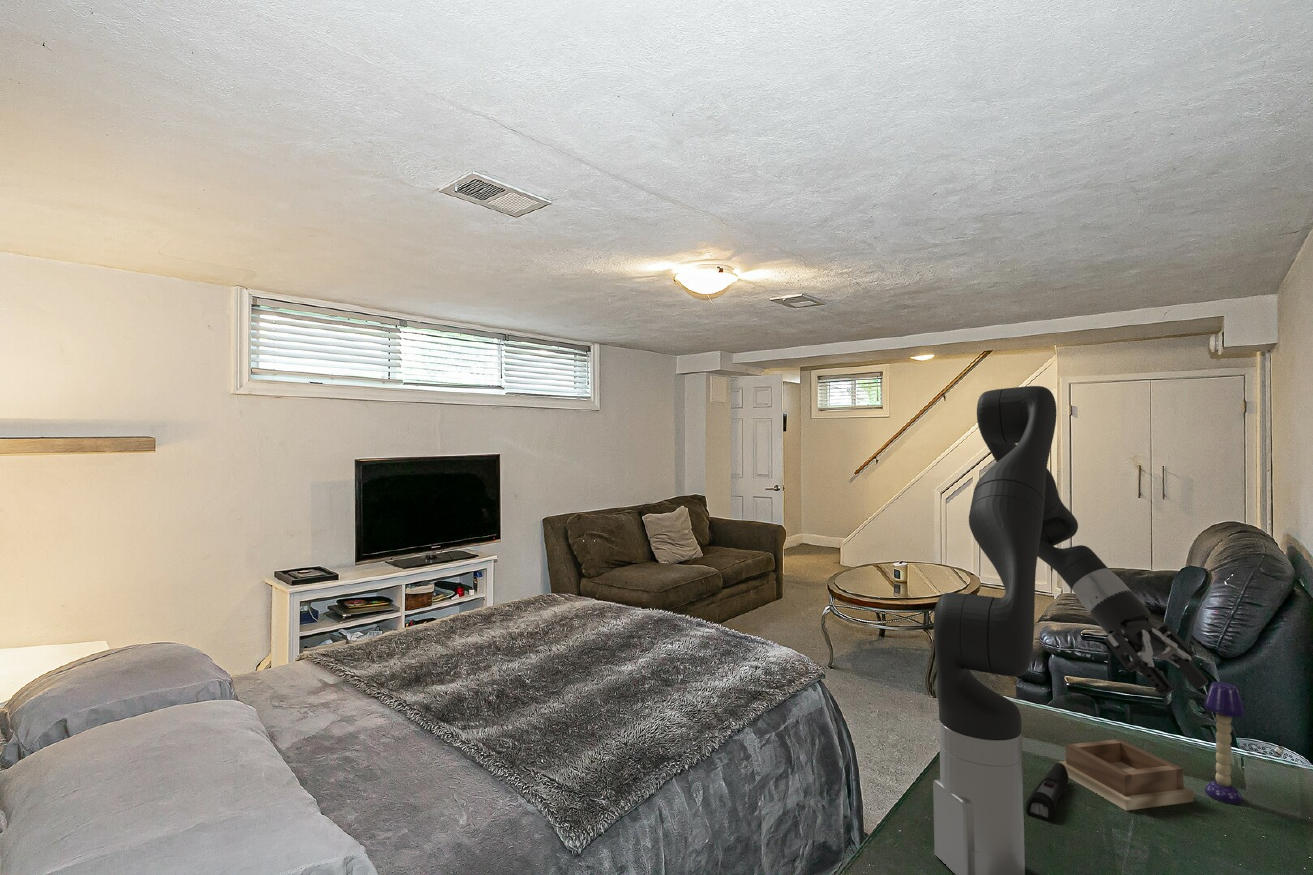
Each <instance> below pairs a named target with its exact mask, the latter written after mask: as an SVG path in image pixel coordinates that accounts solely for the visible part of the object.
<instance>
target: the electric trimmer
mask: <svg viewBox="0 0 1313 875" xmlns="http://www.w3.org/2000/svg"><path fill="white" fill-rule="evenodd" d="M1068 786H1069V777H1068V773H1067V771H1066V768H1065V766H1064V765H1063V764H1062V763H1058V762H1056V763H1054V765H1053V766H1052V768H1051V769H1050V770H1049V771H1048V772H1047V774H1046V775H1045V776H1044V777H1043V779H1042V780H1041V781H1040V782H1038V785H1037V786H1036V787H1035V788H1034V790H1033V791H1032V792H1031V793H1030V796H1029V797H1028V799H1027V800H1026V802H1025V813H1026V815H1027V816H1028V817H1031V818H1034V819H1037V820H1040V821H1043V822H1047V823H1052V822H1055V821H1056V818H1057V804H1058V802H1059V800H1060V799H1065V797H1066V796H1067V792H1068Z"/></svg>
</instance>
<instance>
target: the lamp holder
mask: <svg viewBox="0 0 1313 875" xmlns="http://www.w3.org/2000/svg"><path fill="white" fill-rule="evenodd" d="M1057 763H1062V764H1063V765H1064V766H1065V768H1066V771H1067V773H1068V779H1071V780H1072V781H1074V782H1075V783H1078V784H1079V785H1081V786H1083V787H1084V788H1086V789H1088V790H1090V791H1092V792H1093V793H1095V794H1096V793H1097V795H1098V796H1100V797H1102V798H1103V797H1104V799H1105V800H1107V801H1108V802H1111V803H1112V804H1114V805H1115V806H1118V807H1119V808H1120V809H1122V810H1124V811H1133V810H1141V809H1147V808H1148V809H1149V808H1157V807H1162V806H1172V805H1179V804H1188V803H1194V802H1195V796H1194V794H1195V792H1194V790H1192V789H1189V787H1186V786H1184V768H1183V767H1181V766H1179V765H1176V764H1174V763H1172V762H1169V761H1168V760H1165V759H1164V758H1161V757H1159V756H1157V755H1155V754H1153V753H1151V752H1148V751H1146V750H1144V749H1142V748H1140V747H1137V746H1136V745H1134V744H1131V743H1129V742H1126V741H1125V740H1122V739H1120V738H1117V739H1107V740H1099V741H1087V742H1080V743H1079V742H1078V743H1069V744H1065V760H1061V761H1058V762H1057Z"/></svg>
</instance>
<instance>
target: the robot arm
mask: <svg viewBox="0 0 1313 875" xmlns="http://www.w3.org/2000/svg"><path fill="white" fill-rule="evenodd" d="M1057 416H1058V415H1057V402H1056V398H1055V396H1054V394H1053V392H1052V391H1051V389H1049V388H1047V387H1045V386H1040V385H1028V386H1026V385H1025V386H1017V387H1016V386H1014V387H1009V388H1007V387H1006V388H997V389H996V388H995V389H992V390H987V391H985V392H982V394H981V395H980V396H979V398H978V400H977V405H976V421H977V426H978V430H979V432H980V435H981V437H982V440H983V441H984V443H985V445H986V446H987V448H988V450H989V451H990V453H991V455H992V457H993V459H994V461H995V463H994V464H993V465H992V466H991V467H990V468H988V469H987V470H986V471H985V473H984V474H982V476H980V478H979V480H978V481H977V483H975V486H974V489H973V492H972V493H973V494H972V497H971V498H972V499H971V503H970V509H969V514H968V525H969V528H970V532H971V533H972V536H973V538H974V540H975V541H976V543H977V544H978V546H979V547H980V549H981V550H982V551H983V553H984V555H985V556H986V557H987V558H988V560H989V561H990V562H991V564H992V566H993V567H994V568H995V571H996V573H997V574H998V576H999V578H1000V580H1001V583H1002V584H1003V588H1004V590H1005V594H1004V595H1003V596H1002V597H997V596H995V597H994V596H989V595H988V596H987V595H979V594H972V593H969V594H968V593H961V592H960V593H959V592H945V593H943V594H942V595H940V597H939V598H938V600H937V602H936V604H935V608H934V613H933V644H934V653H935V665H936V666H935V667H936V681H937V682H936V685H937V688H936V690H937V701H938V703H937V704H938V721H939V722H938V724H939V725H938V726H939V729H938V730H939V778H938V779H934V780H933V784H932V786H933V788H932V789H933V791H932V793H933V796H932V797H933V833H934V834H933V836H934V839H933V840H934V841H933V842H934V847H933V848H934V856H935V855H936V856H937V857H938V858H939V859H940V860H942V862H943V863H944V864H946V866H947V867H948V868H949V869H950V870H951V871H952V872H953V873H955V874H956V875H1026V873H1025V872H1026V867H1025V863H1026V860H1025V828H1024V827H1025V825H1024V824H1025V823H1024V821H1025V820H1024V784H1023V782H1024V779H1023V778H1024V777H1023V740H1022V739H1023V734H1022V715H1021V710H1020V709H1019V707H1018V706H1017V705H1016V704H1015V703H1014V702H1013V701H1012V700H1010V699H1009V698H1007V697H1005V696H1003V695H1002V694H1000V693H998V692H996V691H994V690H992V689H991V688H989V687H988V686H986V685H985V684H984V683H982V682H980V680H979V679H978V678H977V677H975V675H973V673H972V672H971V671H975V672H981V673H985V674H986V673H987V674H992V675H996V676H997V675H999V676H1004V677H1015V678H1017V677H1018V678H1019V677H1021V676H1023V675H1025V674H1026V672H1027V671H1028V669H1029V667H1030V664H1031V661H1032V659H1033V658H1032V657H1033V650H1034V640H1035V639H1034V637H1035V600H1036V599H1035V597H1036V574H1037V564H1038V558H1039V559H1040V560H1042V561H1043V562H1044V563H1046V564H1047V565H1048V566H1049V567H1050V568H1052V569H1053V570H1054V571H1055V572H1056V573H1057V574H1058V575H1059V576H1060V577H1061V579H1063V581H1064V582H1065V583H1066V585H1067V586H1068V587H1069V588H1070V589H1071V590H1072V592H1073V593H1074V594H1075V596H1076V598H1077V599H1078V601H1079V602H1080V603H1081V604H1082V606H1083V608H1085V610H1086V611H1087V612H1088V613H1089V614H1090V615H1091V616H1092V618H1093V620H1095V621H1096V623H1097V624H1098V625H1099V626H1100V628H1101V629H1102V630H1103V631H1104V633H1106V634H1107V635H1108V636H1107V637H1105V638H1104V642H1105V643H1106V645H1107V646H1108V647H1109V648H1110V650H1111V651H1112V652H1113V654H1114V655H1115V656H1116V658H1117V659H1118V660H1119V661H1120V663H1121V664H1122V666H1123V667H1124V668H1125V669H1126V670H1127V671H1128V672H1129V673H1133V672H1137V673H1138V674H1139V675H1141V676H1142V675H1143V677H1144V678H1145V679H1146V680H1147V681H1148V682H1149V684H1150V685H1151V686H1152V687H1153V688H1154V690H1155V691H1157V693H1158V694H1159V695H1160V696H1162V697H1164V696H1168V695H1169V694H1171V693H1173V692H1174V691H1175V687H1174V685H1173V684H1172V683H1171V682H1170V681H1169V680H1168V679H1167V677H1166V676H1165V675H1164V674H1163V673H1162V672H1161V671H1160V669H1159V668H1158V667H1155V663H1154V660H1153V658H1158V659H1160V660H1162V661H1167V662H1169V663H1170V664H1172V665H1174V666H1175V667H1177V669H1178V671H1179V672H1180V673H1181V674H1182V675H1183V677H1184V678H1185V679H1186V680H1187V681H1188V683H1190V684H1191V685H1192V686H1193V688H1195V689H1203V687H1205V686H1207V685H1208V684H1209V680H1208V679H1207V677H1206V676H1205V675H1204V674H1203V673H1202V672H1201V670H1199V668H1197V666H1195V664H1194V663H1193V662H1192V658H1193V657H1195V655H1196V652H1195V651H1194V650H1193V649H1192V648H1191V647H1190V646H1189V645H1188V644H1187V643H1186V641H1185V640H1184V639H1182V638H1181V637H1180V636H1179V635H1178V634H1177V632H1176V631H1174V629H1173V628H1171V626H1170V625H1169V624H1167V623H1163V624H1161V625H1160V626H1158V627H1157V626H1155V625H1154V624H1152V623H1151V622H1150V620H1149V619H1150V618H1149V617H1150V616H1151V611H1150V610H1149V608H1147V607H1146V606H1145V605H1144V603H1143V602H1142V601H1141V600H1140V599H1139V598H1138V597H1137V596H1136V594H1135V593H1134V592H1133V591H1132V590H1131V589H1130V588H1129V587H1128V586H1127V585H1126V583H1124V581H1123V580H1122V579H1120V577H1119V576H1118V575H1116V574H1115V573H1114V572H1113V571H1112V570H1110V568H1109V567H1108V566H1107V565H1106V564H1105V563H1104V561H1102V560H1101V559H1100V557H1099V556H1098V555H1097V554H1096V553H1095V552H1094V551H1093V550H1092V549H1091V548H1090V547H1089V546H1087V545H1082V544H1081V545H1074V546H1069V547H1065V548H1060V547H1057V545H1059V544H1061V543H1063V542H1066V541H1067V540H1069V539H1071V538H1073V537H1074V536H1076V534H1077V532H1078V529H1079V523H1078V520H1077V518H1076V517H1075V516H1074V515H1073V513H1072V512H1071V510H1069V509H1068V508H1067V507H1066V506H1065V505H1064V503H1063V502H1062V500H1061V498H1060V494H1059V490H1058V488H1057V482H1056V481H1055V477H1054V475H1053V473H1051V471H1050V470H1049V469H1048V463H1049V458H1050V454H1051V448H1052V444H1053V440H1054V435H1055V431H1056V425H1057ZM1178 646H1179V647H1180V648H1181V649H1180V648H1179V647H1178ZM1128 655H1129V659H1128V658H1127V656H1128ZM1172 655H1173V656H1172ZM936 856H935V857H936ZM937 857H936V858H937ZM938 858H937V859H938ZM939 859H938V860H939ZM940 860H939V861H940ZM942 862H941V863H942ZM943 863H942V864H943ZM944 864H943V865H944ZM946 866H945V867H946ZM947 867H946V868H947ZM948 868H947V869H948ZM949 869H948V870H949ZM950 870H949V871H950ZM951 871H950V872H951ZM952 872H951V873H952ZM953 873H952V874H953ZM955 874H954V875H955Z"/></svg>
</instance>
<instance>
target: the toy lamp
mask: <svg viewBox="0 0 1313 875" xmlns="http://www.w3.org/2000/svg"><path fill="white" fill-rule="evenodd" d="M1203 707H1204V708H1205V710H1207V711H1209V712H1211V713H1214V714H1215V717H1216V720H1217V721H1216V723H1215V728H1216V734H1215V739H1216V742H1215V750H1216V751H1217V752H1216V753H1215V760H1216V764H1215V771H1216V773H1215V781H1214V780H1213V781H1209V782H1208V783H1207V784H1206V786H1205V788H1204V792H1205V794H1206V795H1207V796H1209V797H1211V798H1213V799H1216V800H1218V801H1221V802H1223V803H1229V804H1233V805H1234V804H1241V803H1243V799H1244V798H1243V796H1242V794H1241V792H1240V791H1239V790H1238V788H1236V787H1234V785H1232V779H1231V776H1230V775H1231V774H1232V767H1231V764H1232V756H1231V754H1232V749H1233V748H1232V745H1231V743H1232V734H1231V733H1232V728H1233V727H1232V725H1231V723H1232V720H1233V718H1244V717H1245V716H1246V715H1245V714H1246V712H1245V708H1244V704H1243V700H1242V698H1241V694H1240V692H1239V689H1238V687H1237V686H1236V685H1234V684H1231V683H1227V682H1224V681H1223V682H1222V681H1212V682H1211V683H1210V685H1209V688H1208V690H1207V693H1206V696H1205V700H1204V702H1203Z"/></svg>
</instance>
